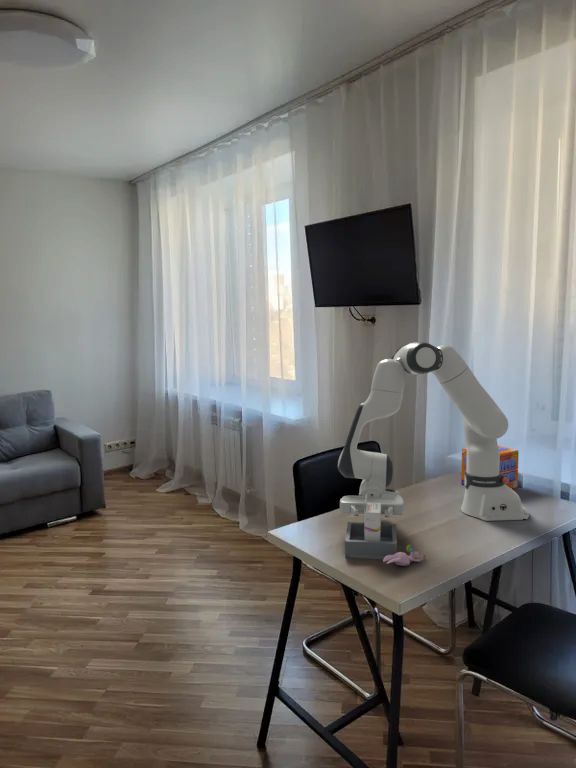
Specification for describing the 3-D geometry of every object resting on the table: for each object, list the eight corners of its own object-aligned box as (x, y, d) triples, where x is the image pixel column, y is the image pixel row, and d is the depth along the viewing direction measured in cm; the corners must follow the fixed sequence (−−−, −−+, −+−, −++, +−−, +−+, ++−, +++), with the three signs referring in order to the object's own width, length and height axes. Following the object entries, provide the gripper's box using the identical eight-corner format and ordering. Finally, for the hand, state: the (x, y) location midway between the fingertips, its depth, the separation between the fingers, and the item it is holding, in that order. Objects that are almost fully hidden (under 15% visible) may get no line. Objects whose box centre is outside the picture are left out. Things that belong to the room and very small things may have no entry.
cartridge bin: (395, 539, 174) (395, 524, 173) (396, 560, 159) (397, 543, 159) (348, 536, 176) (347, 522, 176) (345, 557, 162) (344, 541, 161)
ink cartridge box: (380, 550, 163) (380, 503, 161) (364, 549, 164) (363, 502, 162) (380, 539, 172) (380, 493, 170) (364, 538, 173) (364, 493, 171)
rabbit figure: (414, 559, 163) (376, 564, 155) (416, 539, 163) (379, 543, 154) (429, 567, 158) (391, 572, 149) (432, 546, 157) (394, 551, 149)
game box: (491, 494, 214) (492, 455, 212) (460, 484, 227) (461, 447, 225) (517, 488, 221) (519, 450, 219) (486, 478, 235) (487, 442, 233)
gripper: (340, 488, 182) (337, 503, 168) (403, 490, 179) (405, 505, 165) (340, 507, 183) (337, 522, 169) (403, 509, 179) (405, 525, 166)
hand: (371, 514), depth 167 cm, fingers open, 8 cm apart
